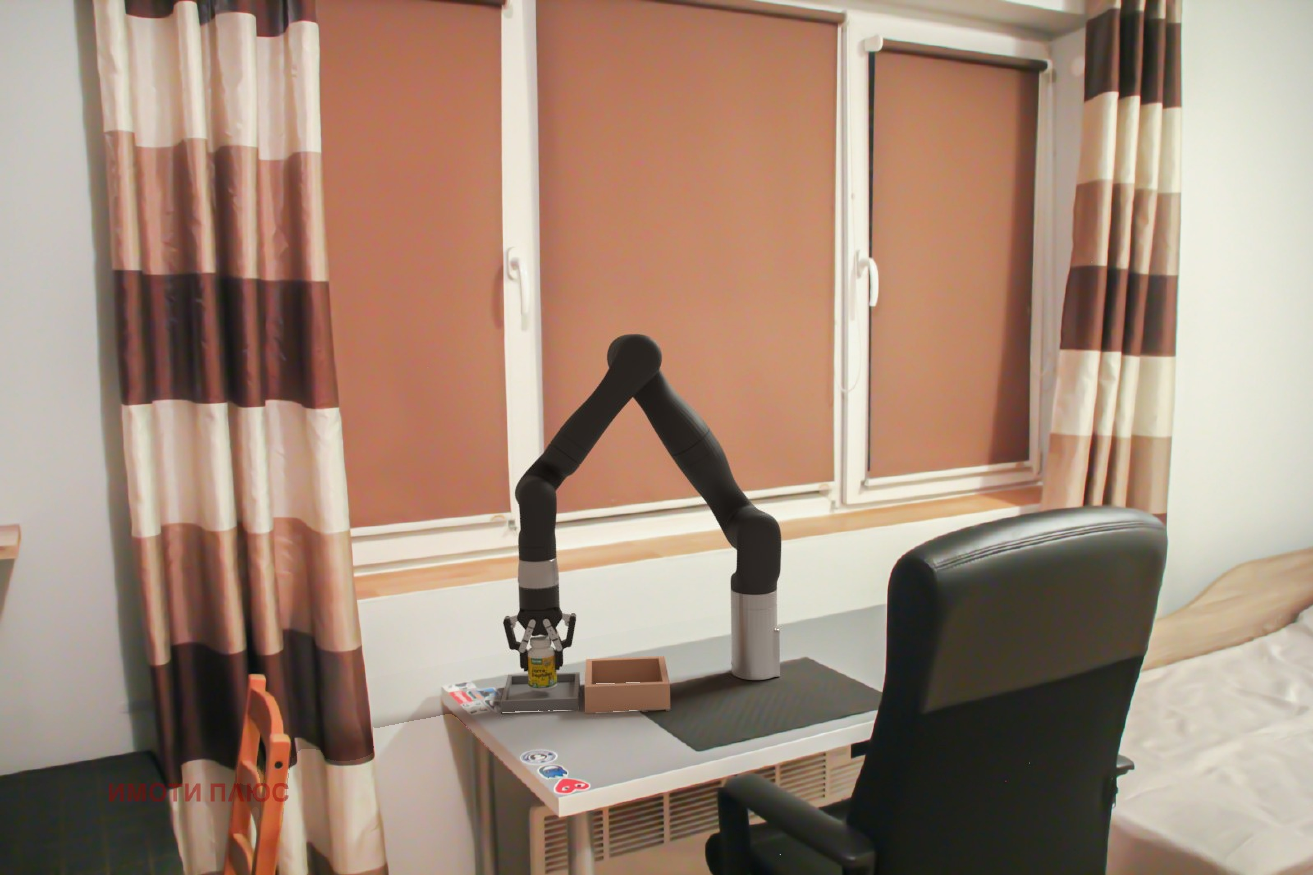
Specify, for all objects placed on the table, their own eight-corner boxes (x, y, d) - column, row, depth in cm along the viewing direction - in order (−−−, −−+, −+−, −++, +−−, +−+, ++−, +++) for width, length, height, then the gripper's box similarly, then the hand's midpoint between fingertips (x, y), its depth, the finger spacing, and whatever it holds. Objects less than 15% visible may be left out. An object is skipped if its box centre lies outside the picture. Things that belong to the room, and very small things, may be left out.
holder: (664, 680, 189) (664, 656, 188) (670, 710, 174) (669, 683, 173) (586, 683, 188) (585, 659, 188) (585, 713, 173) (584, 687, 172)
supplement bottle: (556, 681, 184) (554, 632, 183) (557, 691, 178) (555, 641, 178) (528, 683, 183) (526, 634, 182) (528, 693, 178) (526, 643, 177)
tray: (580, 683, 188) (579, 672, 188) (578, 710, 174) (578, 698, 174) (508, 686, 188) (508, 675, 187) (501, 713, 174) (500, 701, 173)
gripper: (577, 575, 183) (580, 661, 185) (502, 578, 182) (505, 664, 184) (576, 585, 175) (579, 674, 177) (497, 588, 175) (501, 678, 176)
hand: (541, 669), depth 180 cm, fingers closed on supplement bottle, 5 cm apart
